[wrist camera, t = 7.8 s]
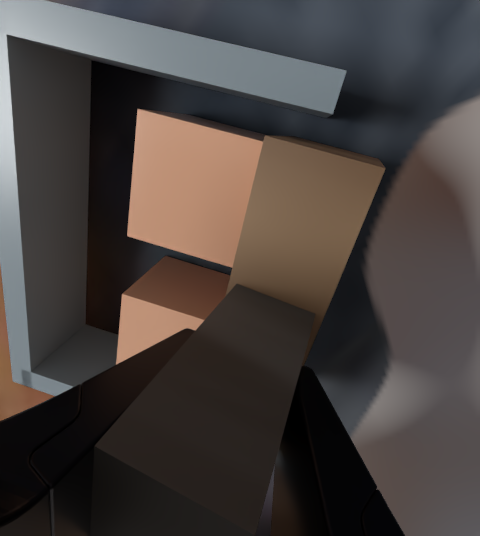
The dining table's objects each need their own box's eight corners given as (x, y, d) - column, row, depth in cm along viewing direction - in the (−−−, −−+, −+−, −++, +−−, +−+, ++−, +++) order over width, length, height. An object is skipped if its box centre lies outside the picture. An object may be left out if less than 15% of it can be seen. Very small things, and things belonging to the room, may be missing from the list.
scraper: (286, 390, 16) (189, 704, 7) (229, 365, 16) (76, 624, 8) (378, 159, 11) (436, 236, 2) (294, 136, 12) (86, 130, 3)
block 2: (227, 345, 17) (204, 403, 13) (155, 322, 17) (115, 373, 14) (244, 279, 15) (224, 326, 12) (165, 255, 16) (122, 293, 12)
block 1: (257, 234, 14) (239, 269, 11) (172, 209, 15) (126, 235, 11) (282, 139, 13) (271, 144, 9) (185, 113, 13) (137, 108, 9)
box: (242, 389, 18) (225, 455, 14) (69, 333, 19) (12, 381, 15) (335, 88, 12) (346, 70, 8) (68, 24, 13) (-30, -17, 9)
